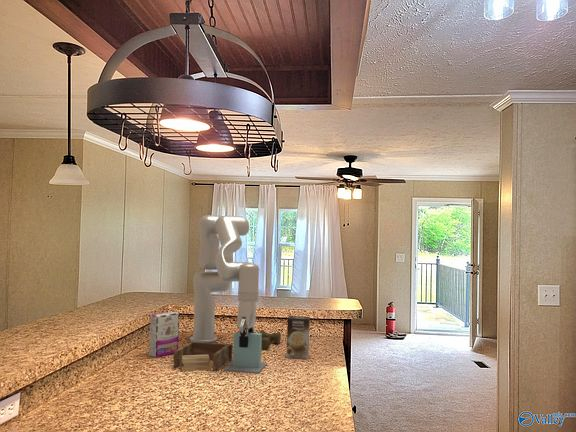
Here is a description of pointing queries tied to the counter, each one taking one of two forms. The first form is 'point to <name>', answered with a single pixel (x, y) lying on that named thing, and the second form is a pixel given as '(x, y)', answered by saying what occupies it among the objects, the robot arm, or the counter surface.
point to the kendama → (269, 339)
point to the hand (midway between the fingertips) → (246, 344)
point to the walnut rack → (205, 353)
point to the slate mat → (245, 368)
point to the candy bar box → (164, 334)
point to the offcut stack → (195, 362)
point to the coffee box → (298, 337)
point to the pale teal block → (248, 351)
